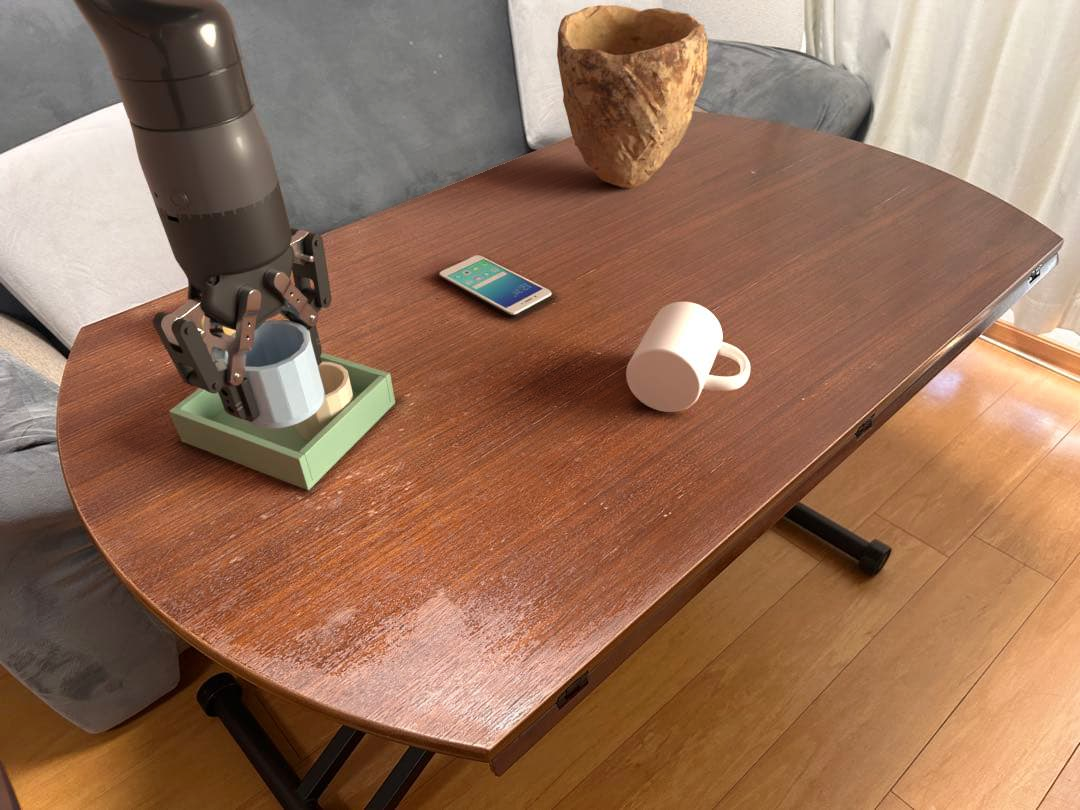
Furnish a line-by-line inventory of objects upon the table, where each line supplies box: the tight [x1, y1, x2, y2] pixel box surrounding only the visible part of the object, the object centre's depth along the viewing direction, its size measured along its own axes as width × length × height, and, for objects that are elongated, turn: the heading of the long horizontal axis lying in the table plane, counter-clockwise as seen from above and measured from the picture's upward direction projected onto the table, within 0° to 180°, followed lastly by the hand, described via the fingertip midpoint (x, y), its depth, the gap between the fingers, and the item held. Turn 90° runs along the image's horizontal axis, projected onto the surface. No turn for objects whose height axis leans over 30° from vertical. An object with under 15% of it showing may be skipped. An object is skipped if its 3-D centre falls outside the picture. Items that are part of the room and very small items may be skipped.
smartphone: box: [439, 254, 552, 319], centre depth 100 cm, size 7×1×15 cm
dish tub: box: [168, 352, 396, 491], centre depth 79 cm, size 15×17×4 cm
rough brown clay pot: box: [556, 4, 709, 189], centre depth 119 cm, size 22×22×25 cm
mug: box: [625, 301, 751, 413], centre depth 81 cm, size 12×10×8 cm
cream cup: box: [294, 362, 354, 441], centre depth 77 cm, size 6×6×6 cm
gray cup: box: [224, 319, 325, 429], centre depth 57 cm, size 6×6×6 cm
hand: (278, 388), depth 58 cm, fingers closed on gray cup, 6 cm apart
